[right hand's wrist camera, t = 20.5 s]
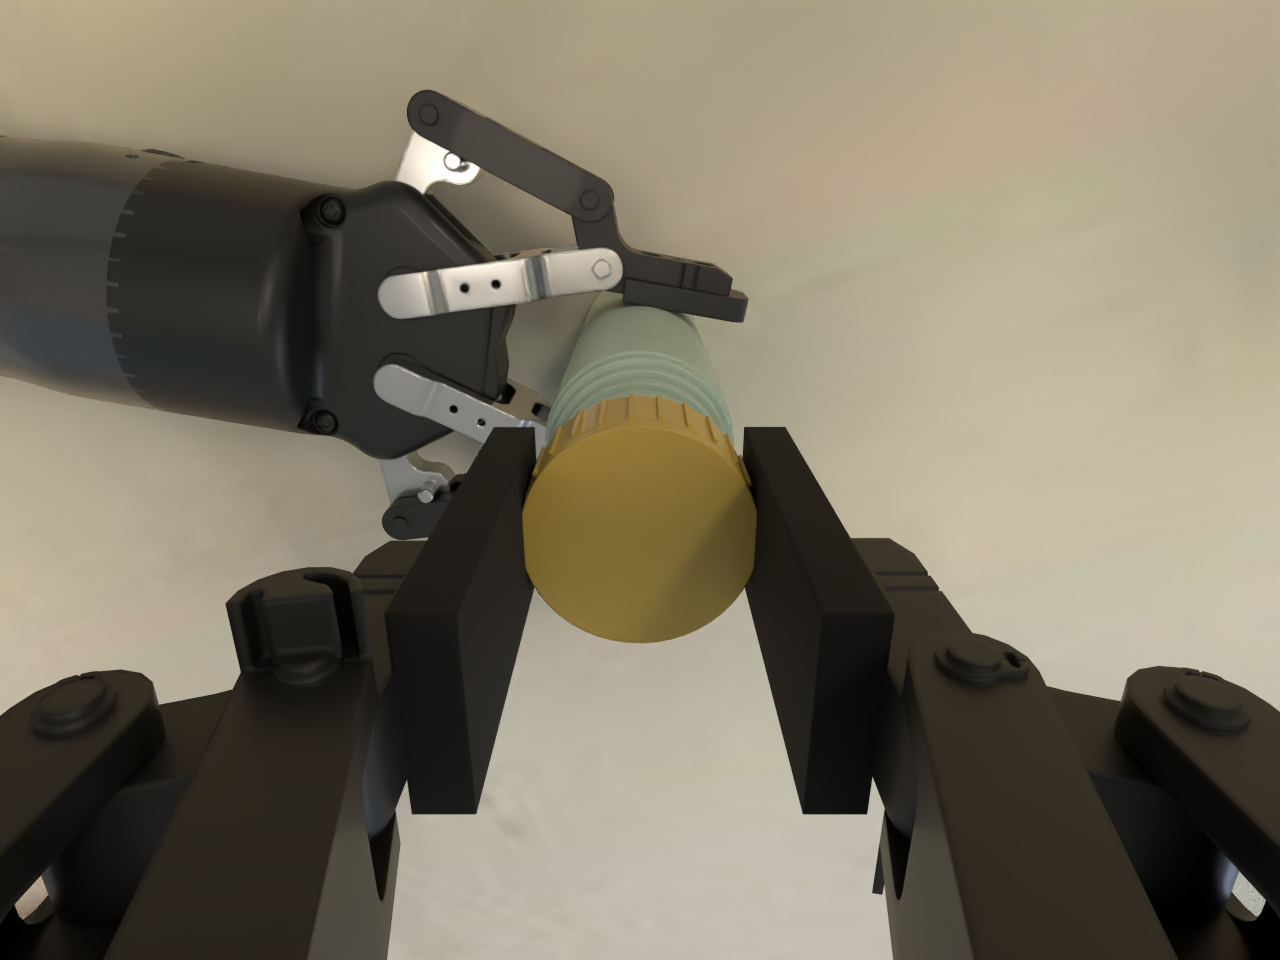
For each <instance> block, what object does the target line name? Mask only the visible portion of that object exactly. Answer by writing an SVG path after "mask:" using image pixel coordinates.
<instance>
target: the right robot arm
mask: <svg viewBox="0 0 1280 960" xmlns="http://www.w3.org/2000/svg"><path fill="white" fill-rule="evenodd" d="M743 461H744V464H745V467H746V469H747V472H748V475H749V477H750V480H751V483H752V486H750V487H749V488H750V491H751V493H752V496H753V499H754V502H755V505H756V508H757V521H756V537H755V554H754V568H753V571H752V574H751V576H750V578H749V580H748V582H747V584H746V585H745V590H746V594H747V598H748V602H749V606H750V610H751V613H752V617H753V621H754V625H755V629H756V633H757V637H758V641H759V645H760V649H761V652H762V656H763V660H764V664H765V668H766V672H767V676H768V680H769V684H770V688H771V691H772V695H773V699H774V703H775V707H776V711H777V715H778V719H779V723H780V727H781V730H782V734H783V738H784V742H785V746H786V750H787V754H788V758H789V762H790V766H791V769H792V773H793V777H794V781H795V785H796V789H797V793H798V797H799V801H800V805H801V809H802V812H803V814H867V811H868V804H869V797H870V790H871V783H872V776H873V779H874V781H875V784H876V786H877V789H878V792H879V794H880V797H881V799H882V802H883V804H884V807H885V811H884V818H883V824H882V831H881V838H880V844H879V851H878V858H877V864H876V871H875V878H874V884H873V891H872V893H875V894H881V895H882V893H883V888H884V884H885V892H886V901H887V910H888V918H889V927H890V936H891V944H892V953H893V960H1280V712H1279V711H1278V710H1277V709H1275V708H1274V707H1273V706H1272V705H1270V704H1269V703H1267V702H1266V701H1264V700H1262V699H1261V698H1259V697H1258V696H1256V695H1255V694H1253V693H1251V692H1250V691H1248V690H1247V689H1245V688H1243V687H1240V686H1238V685H1236V684H1233V683H1231V682H1229V681H1226V680H1224V679H1223V678H1221V677H1219V676H1217V675H1214V674H1211V673H1207V672H1204V671H1203V672H1199V670H1195V669H1190V668H1177V667H1165V666H1156V667H1150V668H1144V669H1139V670H1137V671H1136V672H1135V673H1133V674H1132V675H1131V676H1130V677H1128V678H1127V681H1126V685H1125V689H1124V692H1123V696H1122V699H1121V701H1116V700H1111V699H1105V698H1100V697H1095V696H1090V695H1084V694H1079V693H1074V692H1069V691H1064V690H1060V689H1056V688H1052V687H1048V686H1046V684H1045V682H1044V680H1043V678H1042V676H1041V674H1040V672H1039V670H1038V669H1037V668H1036V667H1035V666H1034V664H1033V663H1032V662H1031V661H1030V659H1029V658H1028V657H1027V656H1025V655H1024V654H1022V653H1021V652H1019V651H1018V650H1016V649H1015V648H1013V647H1011V646H1010V645H1008V644H1006V643H1003V642H1001V641H998V640H995V639H993V638H990V637H988V636H985V635H980V634H975V633H972V632H971V631H970V629H969V628H968V626H967V625H966V624H965V622H964V621H963V620H962V618H961V617H960V616H959V614H958V613H957V611H956V610H955V609H954V607H953V606H952V605H951V603H950V602H949V601H948V599H947V598H946V596H945V595H944V594H943V592H942V591H939V587H938V586H937V584H936V583H935V581H934V580H933V579H932V577H931V576H928V572H927V571H926V569H925V568H924V566H923V565H922V564H921V562H920V561H919V560H918V558H917V557H916V556H915V554H914V553H912V552H910V551H909V550H907V549H906V548H904V547H902V546H901V545H899V544H898V543H896V542H894V541H893V540H891V539H889V538H850V537H849V535H848V533H847V531H846V530H845V528H844V526H843V525H842V523H841V521H840V519H839V518H838V516H837V514H836V513H835V511H834V509H833V508H832V506H831V504H830V502H829V501H828V499H827V497H826V496H825V494H824V492H823V491H822V489H821V487H820V485H819V484H818V482H817V480H816V479H815V477H814V475H813V473H812V472H811V470H810V468H809V467H808V465H807V463H806V462H805V460H804V458H803V456H802V455H801V453H800V451H799V450H798V448H797V446H796V444H795V443H794V441H793V439H792V438H791V436H790V434H789V433H788V431H787V429H786V427H744V442H743ZM536 462H537V459H536V440H535V427H494V428H493V429H492V431H491V433H490V434H489V436H488V438H487V440H486V441H485V443H484V445H483V446H482V448H481V450H480V451H479V453H478V455H477V457H476V458H475V460H474V462H473V463H472V465H471V467H470V468H469V470H468V472H467V474H466V475H465V477H464V479H463V480H462V482H461V484H460V485H459V487H458V489H457V491H456V492H455V494H454V496H453V497H452V499H451V501H450V503H449V504H448V506H447V508H446V509H445V511H444V513H443V514H442V516H441V518H440V520H439V521H438V523H437V525H436V526H435V528H434V530H433V531H432V533H431V535H430V537H429V538H428V540H427V541H389V542H388V543H386V544H384V545H383V546H381V547H379V548H378V549H376V550H375V551H373V552H371V553H370V554H368V555H367V556H365V557H364V559H363V560H362V561H361V563H360V564H359V566H358V567H357V568H356V570H355V571H354V572H353V574H352V573H351V572H349V571H345V570H341V569H336V568H332V567H307V568H301V569H295V570H289V571H283V572H280V573H277V574H274V575H271V576H268V577H265V578H262V579H259V580H257V581H255V582H253V583H251V584H249V585H248V586H246V587H244V588H242V589H240V590H238V591H237V592H236V593H235V594H234V595H233V596H232V597H231V598H230V599H229V600H228V601H227V602H226V603H225V604H226V608H227V613H228V617H229V622H230V626H231V630H232V635H233V639H234V644H235V648H236V653H237V657H238V661H239V666H240V670H241V673H240V675H239V677H238V679H237V681H236V684H235V686H234V688H233V690H229V691H225V692H221V693H217V694H213V695H208V696H202V697H197V698H192V699H187V700H182V701H176V702H171V703H166V704H161V705H159V704H158V700H157V696H156V693H155V689H154V686H153V682H152V681H151V680H149V679H148V678H147V677H146V676H144V675H143V674H142V673H138V672H132V671H126V670H111V671H99V672H98V671H94V672H88V673H83V674H81V675H80V676H78V675H75V676H72V677H68V678H65V679H62V680H60V681H58V682H57V683H56V684H53V685H51V686H48V687H46V688H44V689H41V690H39V691H37V692H35V693H33V694H31V695H30V696H28V697H27V698H25V699H24V700H22V701H20V702H19V703H17V704H16V705H14V706H13V707H11V708H10V709H8V710H7V711H6V712H5V713H3V714H2V715H1V716H0V960H387V955H388V946H389V937H390V929H391V920H392V911H393V903H394V894H395V885H396V877H397V868H398V860H399V851H400V838H399V831H398V824H397V818H396V811H395V809H396V806H397V803H398V801H399V798H400V796H401V793H402V791H403V788H404V785H405V783H406V780H407V782H408V789H409V796H410V803H411V810H412V814H476V813H477V809H478V805H479V801H480V797H481V793H482V789H483V785H484V782H485V778H486V774H487V770H488V766H489V762H490V758H491V754H492V750H493V747H494V743H495V739H496V735H497V731H498V727H499V723H500V719H501V715H502V711H503V708H504V704H505V700H506V696H507V692H508V688H509V684H510V680H511V676H512V672H513V669H514V665H515V661H516V657H517V653H518V649H519V645H520V641H521V637H522V633H523V630H524V626H525V622H526V618H527V614H528V610H529V606H530V602H531V598H532V594H533V591H534V585H533V584H532V582H531V580H530V578H529V576H528V573H527V571H526V567H525V552H524V536H523V519H522V509H523V506H524V502H525V496H526V493H527V491H528V488H529V485H530V482H531V480H532V477H533V475H532V473H533V470H534V467H535V465H536ZM1239 871H1240V872H1241V873H1242V875H1243V876H1244V877H1245V878H1246V879H1247V880H1248V881H1249V882H1250V883H1251V884H1252V885H1253V886H1254V888H1255V889H1256V890H1257V891H1258V892H1259V893H1260V894H1261V895H1262V896H1263V897H1264V898H1265V899H1266V902H1265V905H1264V907H1263V910H1262V912H1261V914H1260V915H1259V916H1258V917H1256V916H1255V915H1254V914H1252V913H1251V912H1250V911H1249V910H1248V909H1247V908H1246V907H1245V906H1244V905H1243V904H1242V903H1241V902H1240V901H1239V900H1238V899H1237V897H1236V896H1235V895H1234V894H1233V893H1232V892H1231V891H1232V889H1233V886H1234V883H1235V881H1236V878H1237V876H1238V873H1239ZM40 876H42V879H43V881H44V884H45V887H46V889H47V892H48V896H47V897H46V899H45V900H44V901H43V902H42V903H41V904H40V905H39V907H38V908H37V909H36V910H35V911H33V912H32V913H31V914H30V915H29V916H27V917H26V918H25V919H24V920H22V919H21V918H20V917H19V915H18V913H17V910H16V908H15V905H14V904H15V903H16V902H17V901H18V900H19V899H20V898H21V897H22V895H23V894H24V893H25V892H26V891H27V890H28V889H29V888H30V887H31V886H32V885H33V883H34V882H35V881H36V880H37V879H38V878H39V877H40Z"/></svg>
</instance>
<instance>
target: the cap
mask: <svg viewBox="0 0 1280 960" xmlns="http://www.w3.org/2000/svg"><path fill="white" fill-rule="evenodd" d="M532 475H533V477H532V480H531V482H530V485H529V488H528V491H527V493H526V496H525V502H524V506H523V509H522V519H523V536H524V552H525V567H526V571H527V573H528V576H529V578H530V580H531V582H532V584H533V585H534V587H535V588H536V590H537V591H538V593H539V595H540V596H541V597H542V598H543V599H544V601H545V602H546V603H547V604H548V605H549V606H550V607H551V608H552V609H553V610H554V611H555V612H556V613H557V614H558V615H560V616H561V617H562V618H564V619H565V620H566V621H568V622H569V623H571V624H572V625H574V626H576V627H578V628H580V629H582V630H583V631H585V632H588V633H591V634H593V635H596V636H598V637H602V638H605V639H609V640H613V641H620V642H626V643H651V642H660V641H665V640H671V639H674V638H677V637H681V636H684V635H686V634H689V633H691V632H693V631H696V630H698V629H700V628H701V627H703V626H705V625H707V624H708V623H710V622H712V621H713V620H714V619H715V618H717V617H718V616H719V615H721V614H722V613H723V612H724V611H725V610H726V609H727V608H728V607H729V606H730V605H731V604H732V603H733V602H734V601H735V600H736V598H737V597H738V596H739V594H740V593H741V592H742V590H743V589H744V587H745V585H746V584H747V582H748V580H749V578H750V576H751V574H752V571H753V568H754V554H755V537H756V521H757V508H756V505H755V502H754V499H753V496H752V493H751V491H750V488H749V487H750V486H752V483H751V480H750V477H749V475H748V472H747V469H746V467H745V464H744V461H743V458H742V456H741V455H739V456H737V454H736V452H735V450H734V447H733V445H732V442H731V439H730V436H729V435H728V434H727V433H726V434H725V435H724V434H723V433H722V432H721V431H720V429H719V428H718V427H717V426H716V425H715V424H713V422H712V419H711V417H710V416H708V415H707V416H706V417H705V416H703V415H702V414H700V413H698V412H697V411H695V410H694V409H692V408H689V407H688V403H686V402H683V404H681V403H678V402H674V401H671V400H668V399H663V398H662V396H661V395H657V397H650V396H634V393H631V394H629V397H621V398H616V399H612V400H608V401H607V399H606V398H604V399H602V401H601V403H599V404H596V405H594V406H592V407H590V408H588V409H586V410H584V411H582V410H581V409H580V410H578V411H577V414H576V416H575V417H573V418H572V419H570V420H569V421H568V422H567V423H566V424H565V425H564V426H563V427H561V426H560V425H559V426H558V427H557V428H556V431H555V434H554V436H553V438H552V439H551V440H550V442H549V443H548V445H547V447H545V446H543V447H542V448H541V451H540V454H539V456H538V459H537V462H536V465H535V467H534V470H533V473H532Z"/></svg>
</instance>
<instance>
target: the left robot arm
mask: <svg viewBox="0 0 1280 960" xmlns="http://www.w3.org/2000/svg"><path fill="white" fill-rule="evenodd" d="M407 118H408V122H409V124H410V126H411V128H412V132H411V135H410V137H409V140H408V143H407V146H406V148H405V151H404V154H403V157H402V159H401V162H400V165H399V168H398V170H397V173H396V176H395V179H394V181H383V182H379V183H376V184H374V185H372V186H369V187H366V188H363V189H358V190H354V189H346V188H340V187H335V186H329V185H324V184H318V183H313V182H307V181H302V180H296V179H291V178H285V177H280V176H274V175H269V174H263V173H258V172H252V171H247V170H241V169H236V168H230V167H225V166H220V165H214V164H209V163H203V162H198V161H192V160H186V159H184V158H182V157H180V156H177V155H174V154H171V153H168V152H164V151H159V150H153V149H147V150H141V151H138V150H132V149H127V148H121V147H116V146H111V145H104V144H97V143H90V142H77V141H49V140H32V139H25V138H17V137H9V136H4V135H0V376H5V377H9V378H14V379H18V380H21V381H25V382H29V383H32V384H35V385H38V386H42V387H45V388H48V389H51V390H55V391H58V392H62V393H66V394H69V395H74V396H79V397H84V398H89V399H94V400H99V401H106V402H112V403H118V404H124V405H130V406H136V407H142V408H148V409H154V410H161V411H167V412H173V413H179V414H185V415H191V416H197V417H204V418H209V419H215V420H222V421H228V422H234V423H240V424H246V425H252V426H258V427H265V428H271V429H277V430H283V431H289V432H295V433H302V434H312V435H325V436H332V437H336V438H339V439H342V440H344V441H346V442H348V443H350V444H352V445H353V446H355V447H356V448H358V449H359V450H361V451H362V452H364V453H365V454H367V455H369V456H371V457H374V458H377V459H379V460H380V464H381V468H382V472H383V475H384V479H385V483H386V487H387V491H388V495H389V498H390V502H391V505H390V507H389V508H388V509H387V511H386V512H385V513H384V515H383V518H382V525H383V528H384V530H385V531H386V533H387V534H388V535H390V536H391V537H393V538H395V539H398V540H408V539H417V538H426V537H430V535H431V533H432V531H433V530H434V528H435V526H436V525H437V523H438V521H439V520H440V518H441V516H442V514H443V513H444V511H445V509H446V508H447V506H448V504H449V503H450V501H451V499H452V497H453V496H454V494H455V492H456V491H457V489H458V487H459V485H460V484H461V482H462V480H463V479H464V477H465V475H466V474H459V475H455V474H454V472H453V471H452V469H451V468H450V467H449V466H447V465H446V464H444V463H440V462H430V461H426V460H424V459H423V458H421V457H420V456H419V455H418V454H417V452H416V450H417V449H419V448H422V447H424V446H426V445H428V444H430V443H432V442H434V441H436V440H438V439H440V438H442V437H444V436H446V435H448V434H450V433H452V432H454V431H457V432H459V433H462V434H464V435H466V436H468V437H470V438H472V439H475V440H477V441H479V442H481V443H483V444H484V443H485V441H486V440H487V438H488V436H489V434H490V433H491V431H492V429H493V428H494V427H535V440H536V459H538V456H539V454H540V451H541V448H542V447H543V446H545V447H546V442H545V437H546V426H547V421H548V416H549V413H550V411H551V408H552V405H553V404H551V403H549V402H547V401H545V400H543V399H542V398H541V397H540V396H539V395H538V394H537V393H536V392H535V391H533V390H531V389H530V388H528V387H526V386H523V385H521V384H519V383H517V382H515V381H513V380H511V379H509V378H507V376H508V367H509V359H508V353H507V346H506V335H507V333H508V330H509V328H510V325H511V323H512V320H513V318H514V315H515V306H516V304H518V303H526V302H533V301H538V300H542V299H545V298H550V297H556V296H564V295H573V294H581V293H589V292H597V291H608V292H613V293H619V294H623V299H622V302H623V303H629V304H634V305H640V306H646V307H653V308H657V309H662V310H668V311H674V312H679V313H685V314H691V315H696V316H702V317H708V318H713V319H719V320H725V321H730V322H744V317H745V313H746V308H747V304H748V298H747V297H746V295H745V294H744V293H742V292H740V291H736V290H732V289H731V285H732V280H733V278H732V277H731V276H730V275H729V274H728V273H727V272H725V271H724V270H722V269H720V268H719V267H717V266H716V265H714V264H712V263H706V262H701V261H694V260H690V259H684V258H679V257H673V256H668V255H662V254H657V253H651V252H645V251H640V250H636V249H634V248H632V247H630V246H629V245H627V244H626V243H625V242H624V240H623V239H622V237H621V235H620V233H619V229H618V224H617V219H616V213H615V208H614V193H613V190H612V188H611V186H610V185H609V184H608V183H607V182H606V181H604V180H603V179H601V178H599V177H597V176H595V175H594V174H592V173H590V172H588V171H586V170H584V169H582V168H581V167H579V166H577V165H575V164H573V163H571V162H569V161H568V160H566V159H564V158H562V157H560V156H558V155H556V154H555V153H553V152H551V151H549V150H547V149H545V148H543V147H542V146H540V145H538V144H536V143H534V142H532V141H530V140H529V139H527V138H525V137H523V136H521V135H519V134H517V133H516V132H514V131H512V130H510V129H508V128H506V127H504V126H503V125H501V124H499V123H497V122H495V121H493V120H491V119H490V118H488V117H486V116H484V115H482V114H480V113H478V112H477V111H475V110H473V109H471V108H469V107H467V106H465V105H464V104H462V103H460V102H458V101H456V100H454V99H451V98H449V97H447V96H445V95H442V94H440V93H437V92H435V91H432V90H422V91H419V92H418V93H416V94H415V95H413V97H412V98H411V99H410V101H409V103H408V107H407ZM484 171H487V172H489V173H491V174H493V175H495V176H497V177H499V178H501V179H502V180H504V181H506V182H508V183H510V184H512V185H514V186H516V187H518V188H520V189H521V190H523V191H525V192H527V193H529V194H531V195H533V196H535V197H537V198H539V199H540V200H542V201H544V202H546V203H548V204H550V205H552V206H554V207H556V208H558V209H560V210H561V211H563V212H565V213H567V214H569V215H571V216H572V221H573V226H574V231H575V236H576V241H577V245H570V246H562V247H554V248H539V249H531V250H523V251H515V252H507V253H499V254H491V253H490V252H489V251H488V250H487V249H486V248H485V247H484V246H483V245H482V244H481V243H480V242H479V241H478V240H477V239H476V238H475V237H474V236H473V235H472V234H471V233H470V232H469V231H468V230H467V229H466V228H465V227H464V226H463V225H462V224H461V223H460V222H459V221H458V220H457V219H456V218H455V217H454V216H453V215H452V214H451V213H450V212H449V211H448V210H447V209H446V208H445V207H444V206H443V205H442V204H441V203H440V202H439V201H438V200H437V199H436V198H435V197H434V196H433V195H432V193H433V191H434V189H435V188H436V187H437V186H438V185H439V184H441V183H443V182H450V183H453V184H456V185H469V184H473V183H475V182H477V181H478V180H479V179H480V178H481V177H482V175H483V174H484ZM500 394H501V396H502V397H500ZM481 418H482V419H484V420H485V421H482V420H481Z"/></svg>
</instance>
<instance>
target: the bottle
mask: <svg viewBox="0 0 1280 960" xmlns="http://www.w3.org/2000/svg"><path fill="white" fill-rule="evenodd" d="M622 299H623V294H619V293H613V292H608V291H601V292H600V294H599V295H598V296H597V297H596V299H595V300H594V301H593V303H592V305H591V307H590V309H589V312H588V315H587V317H586V320H585V322H584V325H583V328H582V330H581V333H580V335H579V338H578V340H577V343H576V346H575V348H574V351H573V353H572V356H571V359H570V361H569V364H568V366H567V369H566V371H565V374H564V377H563V379H562V382H561V384H560V387H559V390H558V392H557V395H556V397H555V400H554V402H553V405H552V408H551V411H550V413H549V416H548V421H547V426H546V437H545V442H546V447H547V445H548V443H549V442H550V440H551V439H552V438H553V436H554V434H555V431H556V428H557V427H558V426H559V425H560V426H561V427H563V426H564V425H565V424H566V423H567V422H568V421H569V420H570V419H572V418H573V417H575V416H576V414H577V411H578V410H580V409H581V410H582V411H584V410H586V409H588V408H590V407H592V406H594V405H596V404H599V403H601V401H602V399H604V398H606V399H607V401H608V400H612V399H616V398H621V397H629V394H631V393H634V396H650V397H657V395H661V396H662V398H663V399H668V400H671V401H674V402H678V403H681V404H683V402H686V403H688V407H689V408H692V409H694V410H695V411H697V412H698V413H700V414H702V415H703V416H705V417H706V416H707V415H708V416H710V417H711V419H712V422H713V424H715V425H716V426H717V427H718V428H719V429H720V431H721V432H722V433H723V434H724V435H725V434H726V433H727V434H728V435H729V436H730V439H731V442H732V445H733V443H734V434H733V425H732V421H731V417H730V413H729V410H728V407H727V405H726V402H725V400H724V397H723V395H722V392H721V389H720V387H719V384H718V382H717V379H716V377H715V374H714V371H713V369H712V366H711V364H710V361H709V358H708V356H707V353H706V351H705V348H704V346H703V343H702V340H701V338H700V335H699V333H698V330H697V328H696V325H695V322H694V320H693V317H692V315H691V314H685V313H679V312H674V311H668V310H662V309H657V308H653V307H646V306H640V305H634V304H629V303H623V302H622Z"/></svg>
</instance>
